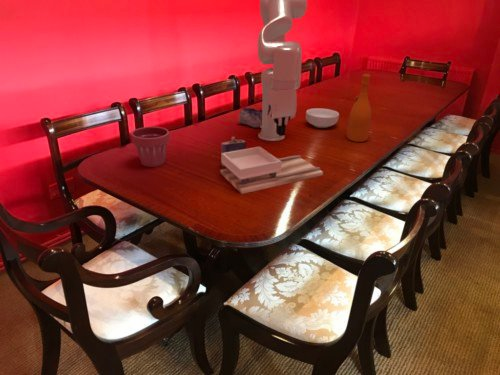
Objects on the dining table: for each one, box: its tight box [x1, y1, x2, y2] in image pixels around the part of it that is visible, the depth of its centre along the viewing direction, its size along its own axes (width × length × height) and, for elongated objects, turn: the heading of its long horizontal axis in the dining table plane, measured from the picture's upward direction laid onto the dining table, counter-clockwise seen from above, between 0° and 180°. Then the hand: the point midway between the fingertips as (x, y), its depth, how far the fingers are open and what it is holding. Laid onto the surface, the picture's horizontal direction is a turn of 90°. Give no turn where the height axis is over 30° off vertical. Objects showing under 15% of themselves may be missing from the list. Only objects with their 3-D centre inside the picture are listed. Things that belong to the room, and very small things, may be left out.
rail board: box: [220, 154, 324, 195], centre depth 144 cm, size 18×34×2 cm, turn 117°
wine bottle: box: [346, 73, 372, 143], centre depth 174 cm, size 10×10×30 cm
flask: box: [220, 136, 247, 168], centre depth 150 cm, size 10×3×12 cm, turn 109°
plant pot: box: [130, 126, 170, 168], centre depth 151 cm, size 14×14×13 cm
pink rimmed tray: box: [220, 146, 282, 184], centre depth 138 cm, size 16×16×6 cm
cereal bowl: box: [305, 107, 340, 129], centre depth 197 cm, size 17×17×7 cm
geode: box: [238, 106, 262, 129], centre depth 196 cm, size 20×12×10 cm, turn 56°
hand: (280, 134), depth 140 cm, fingers closed
